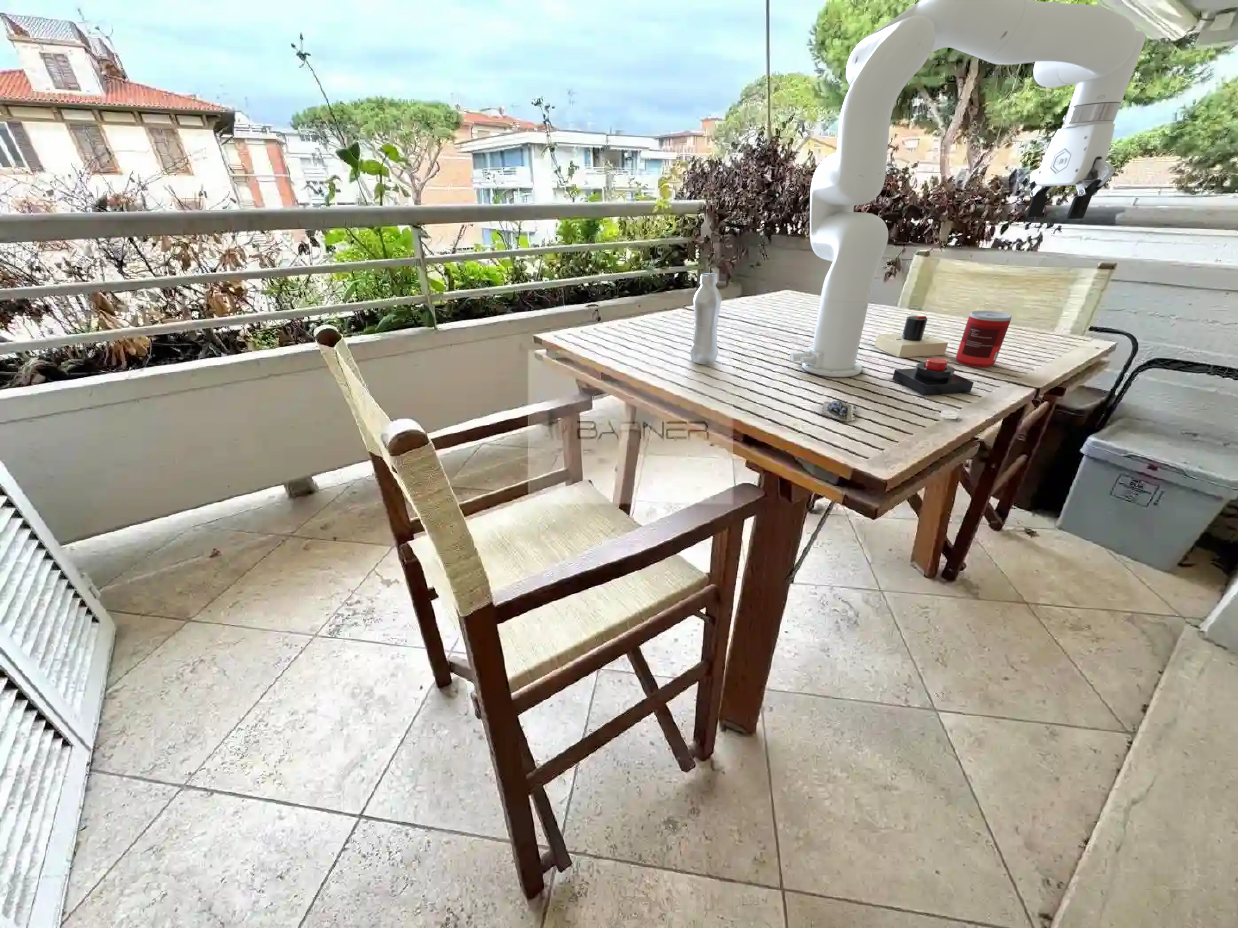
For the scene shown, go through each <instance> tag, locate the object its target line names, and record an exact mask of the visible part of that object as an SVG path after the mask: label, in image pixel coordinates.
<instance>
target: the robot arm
mask: <svg viewBox="0 0 1238 928" xmlns="http://www.w3.org/2000/svg"><path fill="white" fill-rule="evenodd" d="M1146 38H1147V36H1146V33H1145V32H1144V31H1142V30H1137V28H1136V26H1135V25H1134V23H1133V22H1132V21H1131V20H1130V19H1129V18H1127V17H1126V16H1124V15H1123V14H1120V13H1118V12H1116V11H1114V10H1111V9H1109V8H1107V7H1103V6H1099V5H1093V4H1084V3H1069V2H1057V1H1039V0H919V1H917V2H916V3H915V4H913V5H912V6H910V7H909V8H908V9H906V10H905V11H903V12H902V13H901V14H899V15H897V16H896V17H894V18H893V19H891V20H890V21H889V22H887V23H886V24H884V25H882V26H881V27H879V28H878V29H876V30H875V31H873V32H872V33H871V34H869V35H868V36H866V37H865V38H863V39H862V40H861V41H860V42H859V43H858V44H857V45H856V46H855V47H854V49H853V50H852V52H851V53H850V56H849V57H848V60H847V62H846V68H845V78H846V81H847V84H848V86H849V89H848V91H847V93H846V95H845V97H844V100H843V103H842V107H841V110H840V115H839V121H838V130H837V131H838V132H837V142H836V152H833V153H831V154H830V155H828V156H826V157H825V158H824V159H822V161H821V162H820V163H819V164H818V166H817V167H816V169H815V171H814V173H813V176H812V180H811V184H810V192H809V193H810V195H809V242H810V246H811V249H812V251H813V253H814V254H815V255H816V256H817V257H819V258H820V259H822V260H825V261H829V262H832V263H831V265H830V267H829V269H828V271H827V273H826V275H825V277H824V281H823V284H822V289H821V294H820V300H819V307H818V311H817V318H816V323H815V329H814V333H813V334H814V336H813V341H812V346H807V348H806V350H804V351H803V352H791V353H790V354H789V360H790V361H789V362H799V363H800V364H801V368H802V369H803V370H805V371H806V372H809V373H811V374H814V375H818V376H822V377H831V378H849V377H854V376H858V375H859V374H861V373H862V369H863V366H862V364H861V363H859V362H858V361H857V358H858V353H859V349H860V343H861V340H862V335H863V329H864V325H865V321H866V316H867V313H868V307H869V303H870V298H871V295H872V290H873V286H874V282H875V278H876V274H877V271H878V268H879V265H880V263H881V261H882V259H883V256H884V254H885V252H886V250H887V245H888V242H889V230H888V227H887V224H886V222H885V221H884V220H883V218H881V217H880V216H878V215H876V214H874V213H871V212H870V213H869V212H860V211H859V212H858V211H854V209H855V206H862V205H866V204H869V203H871V202H873V201H874V200H875V199H876V198H878V196H879V195H880V194H881V192H882V190H883V188H884V185H885V180H886V174H887V165H888V164H887V163H888V150H889V149H888V148H889V139H890V138H889V137H890V126H891V121H892V114H893V110H894V107H895V104H896V102H897V100H898V98H899V96H900V94H901V93H902V91H903V89H904V88H905V86H906V85H907V84H908V82H909V81H910V80H911V79H912V78H913V77H914V76H915V75H916V74H917V73H918V72H919V71H920V70H921V69H922V68H923V66H924V65H925V63H926V62H927V60H928V58H929V57H930V55H931V53H934V52H936V51H939V50H941V49H945V48H948V49H949V48H950V49H954V50H956V51H959V52H961V53H965V54H967V55H969V56H972V57H975V58H978V59H980V60H982V61H985V62H987V63H989V64H993V65H1009V66H1010V65H1020V64H1021V65H1022V64H1031V63H1034V65H1033V70H1032V74H1033V78H1034V80H1035V82H1036V83H1037V84H1038V85H1039V86H1040V87H1043V88H1048V89H1049V88H1050V89H1053V88H1059V87H1063V86H1064V87H1065V86H1071V85H1075V88H1074V92H1073V94H1072V97H1071V100H1070V103H1069V106H1068V109H1067V111H1066V114H1065V115H1064V116H1063V118H1062V122H1063V123H1062V125H1061V128H1058V129H1057V131H1056V132H1055V134H1054V135H1053V137H1052V140H1051V141H1050V143H1049V145H1048V148H1047V149H1046V152H1045V154H1044V156H1043V159H1042V161H1041V164H1040V166H1039V168H1037V169H1035V170H1033V171H1032V172H1031V173H1030V175H1029V183H1030V184H1029V189H1030V197H1031V199H1030V202H1029V206H1028V207H1027V211H1026V213H1025V217H1026V218H1041V217H1042V216H1043V213H1044V209H1045V207H1046V204H1047V201H1048V198H1049V195H1047V194H1048V193H1049V192H1050V191H1051V190H1052V189H1053V188H1054V187H1056V186H1075V188H1076V191H1077V194H1078V195H1074V197H1073V199H1072V202H1071V203H1070V206H1069V209H1068V212H1067V215H1066V220H1081V219H1084V217H1085V216H1086V213H1087V210H1088V208H1089V204H1090V203H1091V200H1092V197H1094V196H1096V195H1097V194H1098V191H1100V190H1101V189H1102V188H1103V187H1104V186H1105V185H1106V184H1107V181H1109V179H1110V178H1111V177H1112V176H1113V175H1114V173H1115V172H1116V168H1115V167H1113V166H1112V165H1111V164H1110V163H1108V162H1107V161H1106V160H1107V157H1108V155H1109V151H1110V147H1111V145H1112V141H1113V140H1112V139H1113V136H1114V132H1115V126H1116V124H1115V123H1114V122H1115V120H1116V117H1117V115H1118V112H1119V110H1120V107H1121V104H1122V101H1123V99H1124V97H1125V94H1126V92H1127V90H1128V87H1129V85H1130V81H1131V79H1132V76H1133V74H1134V71H1135V69H1136V66H1137V63H1138V60H1139V58H1140V56H1141V53H1142V50H1143V48H1144V45H1145V42H1146Z"/></svg>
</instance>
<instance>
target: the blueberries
mask: <svg viewBox="0 0 1238 928" xmlns="http://www.w3.org/2000/svg"><path fill="white" fill-rule="evenodd" d="M821 412H822V413H823V415H824V416H825V417H828V418H833V419H836V420H839V421H840V422H845V423H849V422H853V421H855V420H856V418H855V417H856V415H854V414H856V412H857V406H855V405H853V404H850V403H847V402H844V401H841V400H833V401H831V402H830V401H826V400H825V401H823V403H822V407H821Z"/></svg>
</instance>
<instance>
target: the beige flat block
mask: <svg viewBox="0 0 1238 928" xmlns="http://www.w3.org/2000/svg"><path fill="white" fill-rule="evenodd" d="M902 334H903V333H888V334H877V335H876V338H875V343H874V348H876V349H878V350H881V351H883V352H885V353H887V354H889V355H891V356H894V357H897V358H912V357H928V356H930V357H931V356H944V355H946V351H947V348H948V345H949V342H948V341H945V340H942V339H939V338H937V337H934V336H931V335H929V334H926V333H924V334H923V337H922V340H919V341H911V340H905V339H903V338H902Z"/></svg>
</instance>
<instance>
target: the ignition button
mask: <svg viewBox="0 0 1238 928" xmlns="http://www.w3.org/2000/svg"><path fill="white" fill-rule="evenodd" d="M925 362H926V365H925V368H928V369H932V370H946V366H947V365H948V363H949V361H948V360H946V359H944V358H940V357H929V358H926V361H925Z"/></svg>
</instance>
